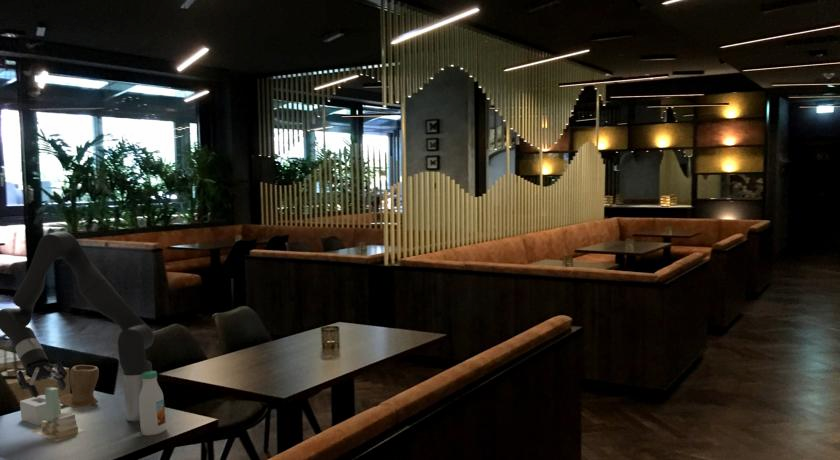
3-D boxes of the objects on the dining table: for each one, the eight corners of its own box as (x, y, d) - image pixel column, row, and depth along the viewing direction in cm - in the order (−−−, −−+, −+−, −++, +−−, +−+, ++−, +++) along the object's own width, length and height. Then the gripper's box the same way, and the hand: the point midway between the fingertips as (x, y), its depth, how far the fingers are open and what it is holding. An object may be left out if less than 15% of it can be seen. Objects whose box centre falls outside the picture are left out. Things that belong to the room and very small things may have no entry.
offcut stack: (51, 434, 217) (50, 416, 217) (69, 428, 222) (67, 411, 221) (60, 437, 214) (59, 419, 213) (78, 432, 218) (76, 414, 218)
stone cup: (107, 403, 253) (104, 364, 252) (76, 412, 243) (72, 372, 242) (86, 397, 261) (83, 359, 260) (55, 406, 252) (52, 367, 251)
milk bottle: (150, 437, 214) (146, 376, 213) (136, 433, 219) (131, 374, 217) (171, 429, 221) (166, 370, 220) (156, 426, 225) (152, 368, 224)
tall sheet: (48, 429, 222) (44, 388, 221) (54, 427, 224) (50, 386, 223) (55, 431, 219) (51, 390, 219) (61, 429, 221) (58, 388, 220)
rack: (30, 435, 222) (29, 422, 221) (60, 425, 230) (59, 412, 229) (56, 445, 211) (55, 431, 211) (87, 435, 219) (86, 422, 219)
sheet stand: (21, 423, 234) (19, 400, 233) (45, 416, 240) (43, 394, 240) (37, 429, 227) (35, 406, 226) (61, 422, 233) (59, 399, 233)
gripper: (11, 352, 220) (30, 391, 214) (56, 343, 231) (75, 380, 225) (6, 366, 224) (24, 405, 218) (50, 356, 235) (68, 393, 229)
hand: (50, 392), depth 222 cm, fingers open, 8 cm apart
